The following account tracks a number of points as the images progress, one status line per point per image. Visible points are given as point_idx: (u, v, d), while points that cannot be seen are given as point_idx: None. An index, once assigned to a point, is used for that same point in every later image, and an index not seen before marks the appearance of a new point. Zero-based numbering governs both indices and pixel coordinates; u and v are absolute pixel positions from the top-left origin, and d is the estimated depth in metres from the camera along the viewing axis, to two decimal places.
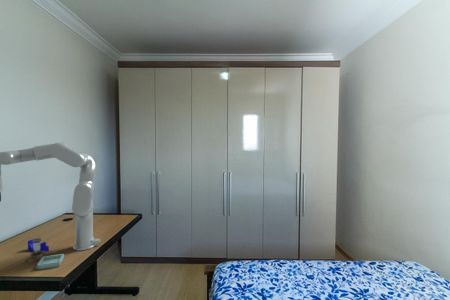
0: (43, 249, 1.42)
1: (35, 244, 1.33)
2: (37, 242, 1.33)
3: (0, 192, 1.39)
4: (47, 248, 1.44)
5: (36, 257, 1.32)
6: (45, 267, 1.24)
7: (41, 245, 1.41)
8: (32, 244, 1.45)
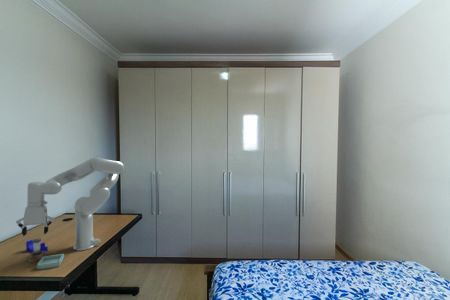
0: (42, 250, 1.41)
1: (35, 244, 1.33)
2: (37, 242, 1.33)
3: None
4: (46, 249, 1.43)
5: (36, 257, 1.32)
6: (45, 267, 1.24)
7: (40, 246, 1.40)
8: (30, 245, 1.44)
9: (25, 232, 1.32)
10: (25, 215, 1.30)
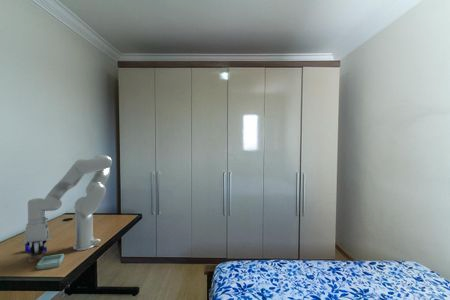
0: None
1: (35, 244, 1.33)
2: (37, 242, 1.33)
3: None
4: (45, 249, 1.42)
5: (36, 257, 1.32)
6: (45, 267, 1.24)
7: None
8: None
9: (33, 250, 1.34)
10: (26, 232, 1.31)
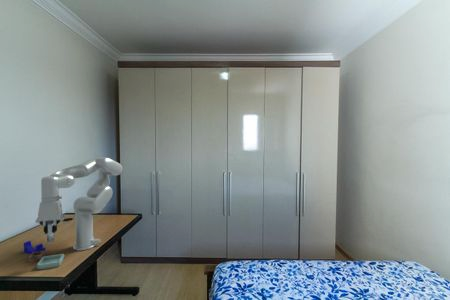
0: None
1: (49, 226, 1.27)
2: (51, 224, 1.27)
3: None
4: (44, 250, 1.42)
5: (36, 257, 1.32)
6: (45, 267, 1.24)
7: (38, 247, 1.38)
8: (28, 246, 1.42)
9: None
10: (40, 211, 1.25)
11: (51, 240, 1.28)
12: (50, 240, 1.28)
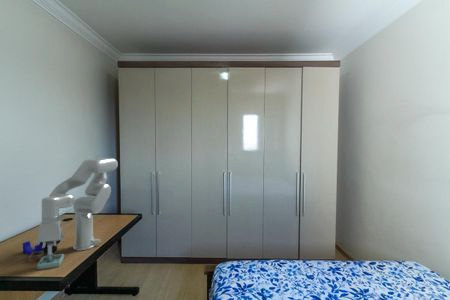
0: None
1: (48, 246, 1.27)
2: (51, 244, 1.28)
3: None
4: (43, 250, 1.41)
5: (36, 257, 1.32)
6: (45, 267, 1.24)
7: (37, 247, 1.38)
8: (27, 246, 1.42)
9: None
10: (40, 232, 1.25)
11: (51, 261, 1.28)
12: (50, 261, 1.28)
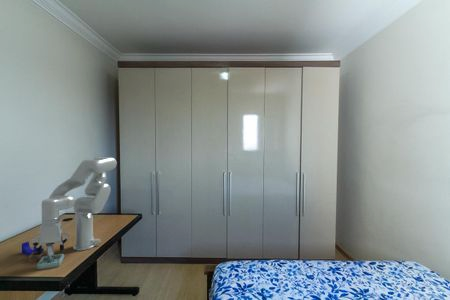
0: None
1: (48, 248, 1.27)
2: (50, 245, 1.28)
3: None
4: None
5: (36, 257, 1.32)
6: (45, 267, 1.24)
7: (36, 248, 1.37)
8: (26, 247, 1.41)
9: (40, 251, 1.27)
10: (40, 234, 1.25)
11: (51, 262, 1.28)
12: (50, 262, 1.28)
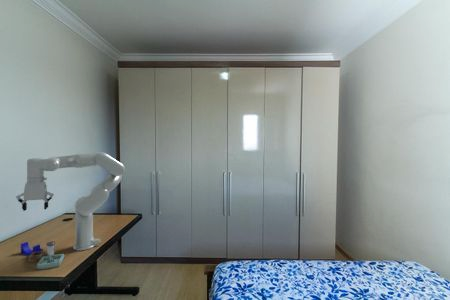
0: None
1: (49, 247, 1.28)
2: (51, 245, 1.28)
3: None
4: None
5: (36, 257, 1.32)
6: (45, 267, 1.24)
7: (35, 248, 1.37)
8: (25, 247, 1.41)
9: (25, 207, 1.34)
10: (25, 190, 1.32)
11: (51, 262, 1.28)
12: (50, 262, 1.28)
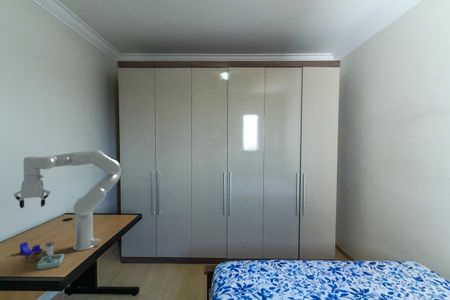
0: None
1: (48, 248, 1.27)
2: (50, 245, 1.28)
3: None
4: None
5: (36, 257, 1.32)
6: (45, 267, 1.24)
7: (35, 248, 1.37)
8: (25, 247, 1.41)
9: (23, 205, 1.37)
10: (22, 188, 1.35)
11: (51, 262, 1.28)
12: (50, 262, 1.28)
